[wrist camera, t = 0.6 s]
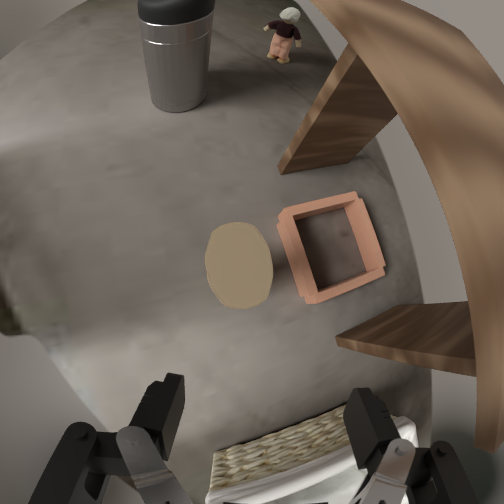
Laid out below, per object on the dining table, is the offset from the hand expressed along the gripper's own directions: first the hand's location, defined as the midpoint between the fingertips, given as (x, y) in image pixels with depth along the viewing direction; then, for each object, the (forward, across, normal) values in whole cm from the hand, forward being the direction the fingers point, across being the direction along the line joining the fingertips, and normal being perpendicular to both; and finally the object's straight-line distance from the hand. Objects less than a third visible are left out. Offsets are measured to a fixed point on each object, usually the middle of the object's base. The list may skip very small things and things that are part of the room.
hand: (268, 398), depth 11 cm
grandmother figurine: (+42, +1, -36) cm, 56 cm away
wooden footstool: (+28, -9, -2) cm, 29 cm away
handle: (+23, +4, +3) cm, 24 cm away
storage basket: (+14, -8, +28) cm, 32 cm away
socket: (+28, -9, -2) cm, 29 cm away
